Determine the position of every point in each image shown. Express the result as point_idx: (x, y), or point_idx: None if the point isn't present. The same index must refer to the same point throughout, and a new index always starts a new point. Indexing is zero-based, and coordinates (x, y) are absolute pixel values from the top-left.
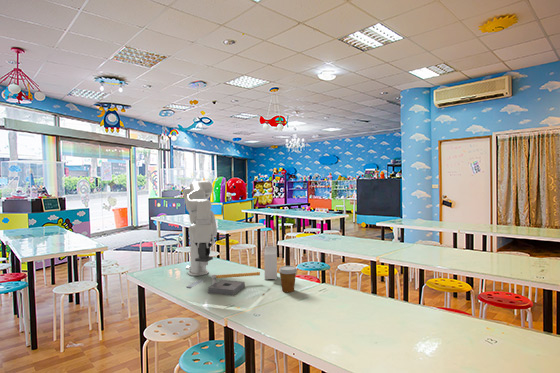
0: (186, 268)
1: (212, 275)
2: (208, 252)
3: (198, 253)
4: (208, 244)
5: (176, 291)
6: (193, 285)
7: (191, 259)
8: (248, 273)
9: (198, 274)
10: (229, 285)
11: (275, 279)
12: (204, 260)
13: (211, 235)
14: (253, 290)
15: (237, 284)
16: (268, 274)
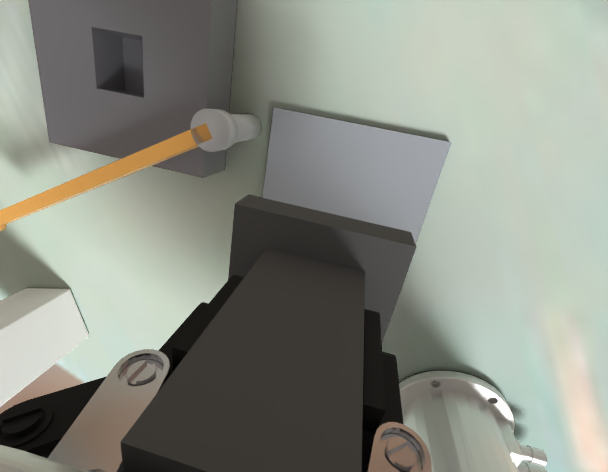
0: (539, 453)
1: (222, 130)
2: (198, 309)
3: (379, 323)
4: (78, 438)
5: (509, 41)
6: (404, 169)
7: None
8: (17, 203)
9: (431, 376)
10: (124, 92)
11: (28, 288)
12: (270, 204)
13: None
14: (41, 121)
15: (57, 73)
16: (30, 302)
